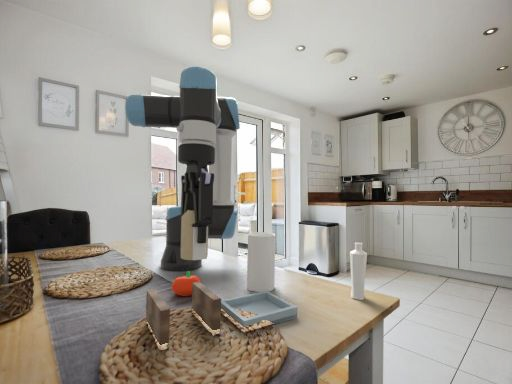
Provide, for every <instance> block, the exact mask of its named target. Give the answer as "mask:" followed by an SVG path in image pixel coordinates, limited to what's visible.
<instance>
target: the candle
mask: <svg viewBox="0 0 512 384" xmlns="http://www.w3.org/2000/svg"><path fill="white" fill-rule="evenodd" d="M193 223H195V214H194V211H189V210H187V212H186V213H185V214H184V215H183V216H182V217H181V259H184V260H192V254H193V227H192V224H193ZM208 248H209V239H208V226H207V256H208V252H209V249H208ZM201 260H203V259H201Z"/></svg>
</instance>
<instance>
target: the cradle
mask: <svg viewBox="0 0 512 384" xmlns="http://www.w3.org/2000/svg"><path fill="white" fill-rule="evenodd" d="M221 300H222V298H221V297H220V296H219V295H217V294H215V292H214V291H212V290H211V289H210V288H208V287H207V286H205V285H204V284H203V283H202V282H201V283H200V282H194V283H192V295H191V310H192V309H193V310H194V311H195V312H196V313H197V314H198V315H199V316H200V317H201V318H202V320H203V321H204V322H205V323H206V324H207V325H208V326H209V327H210V328H211V329H212V330H217V329H220V330H221V324H222V323H221V321H222V319H221V315H222V314H221ZM145 303H146V304H145V306H146V307H145V321H146V320H147V322H148V323H149V325H150V327H151V329H152V331H153V333H154V335H155V337H156V339H157V341H158V342H159V344H160V345H162V344H165V343H169V344H170V326H171V325H170V323H171V317H170V316H171V315H170V314H171V309H170V307H169V305H168V304H167V303H166V302H165V301H164V299H163V298H162V296H161V295H160V294H159V293H158V291H157V290H156V289H155V288H150V289H146V302H145Z"/></svg>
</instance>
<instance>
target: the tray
mask: <svg viewBox="0 0 512 384" xmlns="http://www.w3.org/2000/svg"><path fill="white" fill-rule="evenodd" d="M233 308H234V309H233ZM221 309H223V310H224V311H225V312H226V313H227V314H228V315H229V316H231V317H232V318H233V319H234V320H236V321H237V322H238V323H240V324H241V325H242V326H243V327H246V326H249V325H252V324H255V323H258V322H260V321H262V320H268V321H270V322H272V323H274V325H276V324H280V323H283V322H287V321H290V320H294V319H297V318H298V306H297V305H294V304H292V303H290V302H289V301H287V300H285V299H283V298H281V297H280V296H278V295H276V294H274V293H272V292H271V291H269V292H268V291H264V292H255V293H251V294H250V293H249V294H246V295H245V294H244V295H241V296H235V297H232V298H231V297H229V298H225V299H221ZM235 309H241V310H245V311H249V312H252V313H255V314H258V315H256V316H252V317H248V318H245V317H244V316H242V315H241V314H240V313H239V312H237V311H236V310H235Z"/></svg>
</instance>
